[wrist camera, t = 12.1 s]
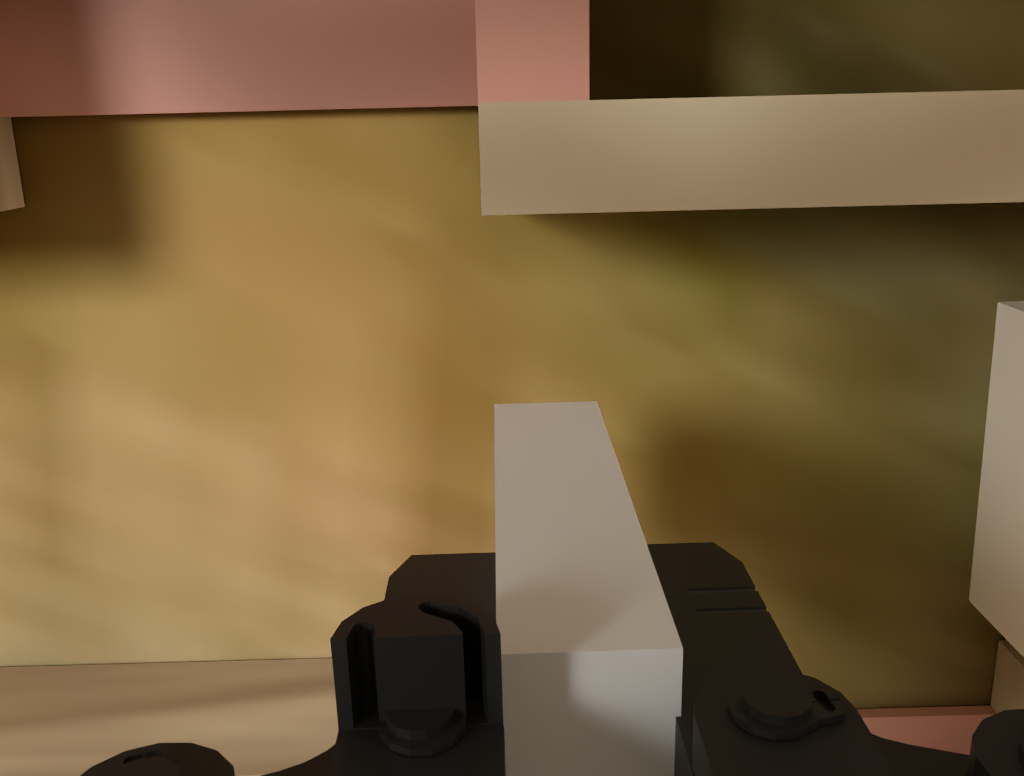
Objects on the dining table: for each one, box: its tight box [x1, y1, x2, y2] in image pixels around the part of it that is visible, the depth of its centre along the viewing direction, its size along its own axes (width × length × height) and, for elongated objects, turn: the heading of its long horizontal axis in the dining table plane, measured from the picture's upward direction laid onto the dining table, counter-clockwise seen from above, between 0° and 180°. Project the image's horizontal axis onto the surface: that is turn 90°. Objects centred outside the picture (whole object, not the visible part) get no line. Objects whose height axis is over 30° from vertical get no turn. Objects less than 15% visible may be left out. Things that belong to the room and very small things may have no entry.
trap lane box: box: [0, 0, 1024, 776], centre depth 15 cm, size 23×34×6 cm
